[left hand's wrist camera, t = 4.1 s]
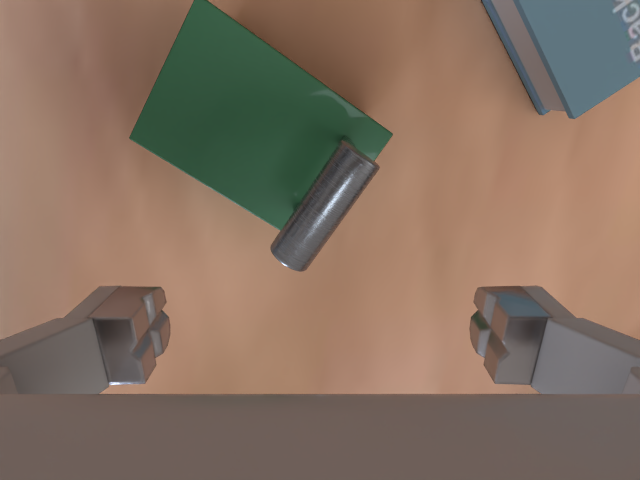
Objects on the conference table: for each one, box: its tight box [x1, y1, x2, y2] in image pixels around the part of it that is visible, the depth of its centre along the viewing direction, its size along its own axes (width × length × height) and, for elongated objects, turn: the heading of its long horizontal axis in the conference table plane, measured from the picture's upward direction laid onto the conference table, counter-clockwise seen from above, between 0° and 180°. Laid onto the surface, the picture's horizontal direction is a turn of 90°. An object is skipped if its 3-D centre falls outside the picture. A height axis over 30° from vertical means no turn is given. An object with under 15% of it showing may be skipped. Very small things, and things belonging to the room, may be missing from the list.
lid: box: [129, 0, 393, 271], centre depth 21 cm, size 14×10×9 cm
